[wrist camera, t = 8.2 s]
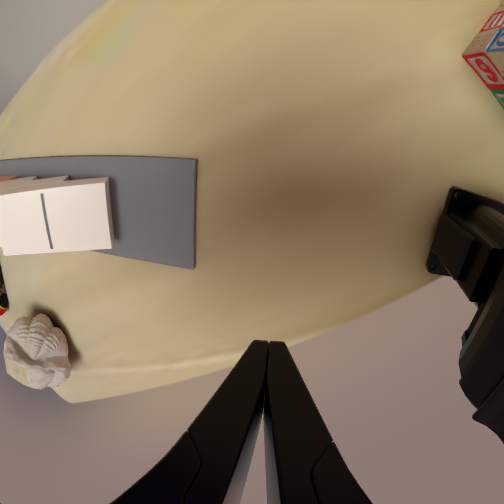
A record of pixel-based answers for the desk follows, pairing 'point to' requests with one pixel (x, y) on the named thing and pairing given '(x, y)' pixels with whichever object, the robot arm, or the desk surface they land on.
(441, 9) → the desk surface
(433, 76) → the desk surface
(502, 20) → the stack of blocks
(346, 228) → the desk surface
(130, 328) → the desk surface
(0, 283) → the race car
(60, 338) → the fossil replica
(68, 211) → the domino
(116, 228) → the domino mat
